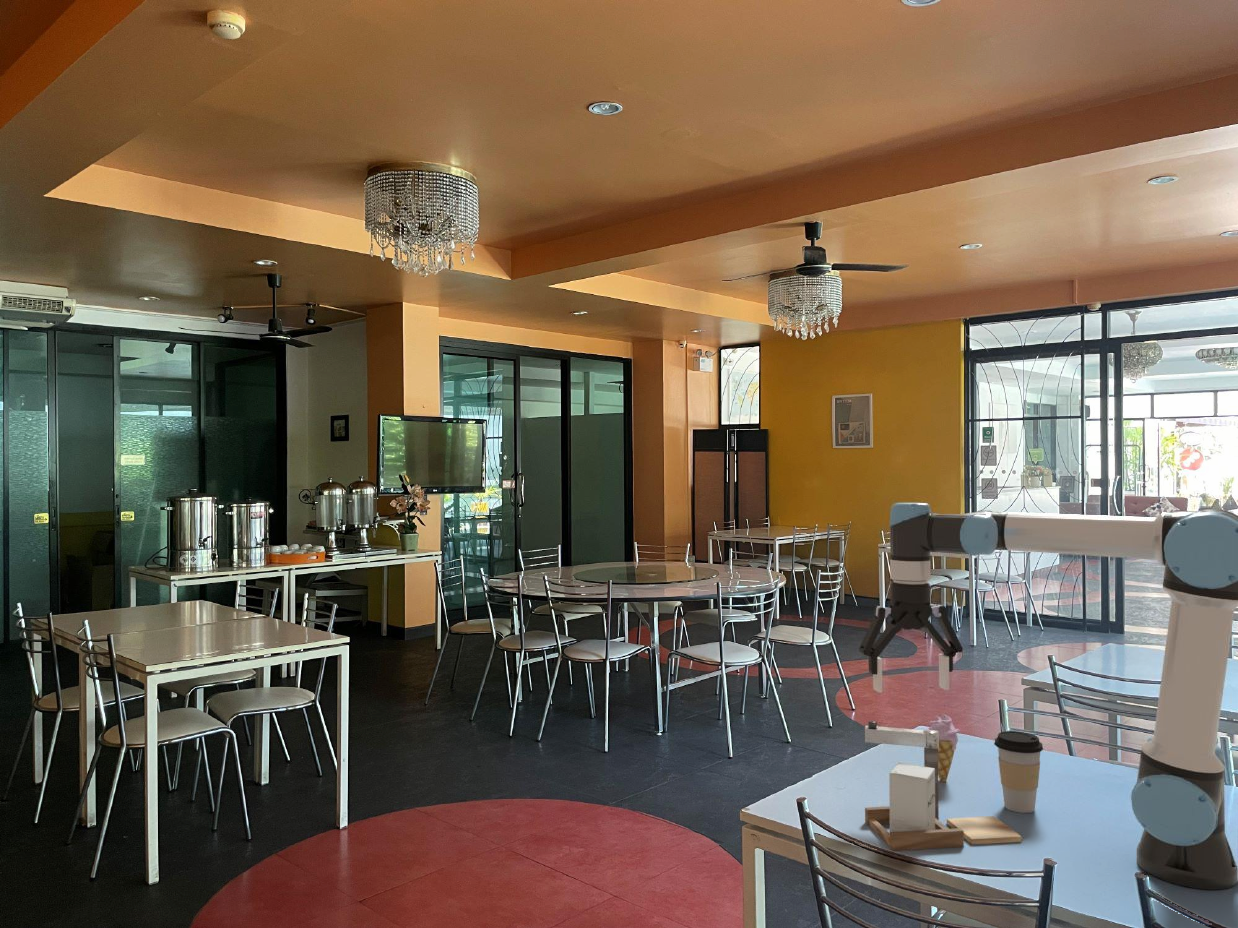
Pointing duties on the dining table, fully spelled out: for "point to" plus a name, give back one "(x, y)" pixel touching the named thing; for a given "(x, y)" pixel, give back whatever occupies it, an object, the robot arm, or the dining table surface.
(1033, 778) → the coffee cup
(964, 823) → the pad
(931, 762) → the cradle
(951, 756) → the ice cream cone
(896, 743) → the bar
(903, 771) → the supplement box
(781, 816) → the dining table surface
